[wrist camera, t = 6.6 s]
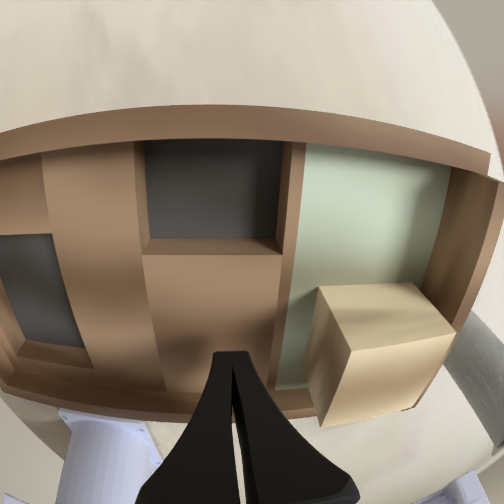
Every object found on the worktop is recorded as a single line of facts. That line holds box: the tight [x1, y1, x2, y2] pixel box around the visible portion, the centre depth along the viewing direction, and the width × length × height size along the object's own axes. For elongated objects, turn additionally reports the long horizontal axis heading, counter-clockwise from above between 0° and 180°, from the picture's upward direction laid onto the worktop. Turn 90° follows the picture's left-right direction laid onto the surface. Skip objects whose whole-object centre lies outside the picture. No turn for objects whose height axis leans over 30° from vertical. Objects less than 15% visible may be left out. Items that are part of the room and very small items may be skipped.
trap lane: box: [0, 105, 504, 423], centre depth 12 cm, size 15×26×5 cm, turn 87°
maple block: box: [302, 282, 457, 428], centre depth 12 cm, size 5×5×4 cm
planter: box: [443, 311, 504, 449], centre depth 14 cm, size 4×4×10 cm
